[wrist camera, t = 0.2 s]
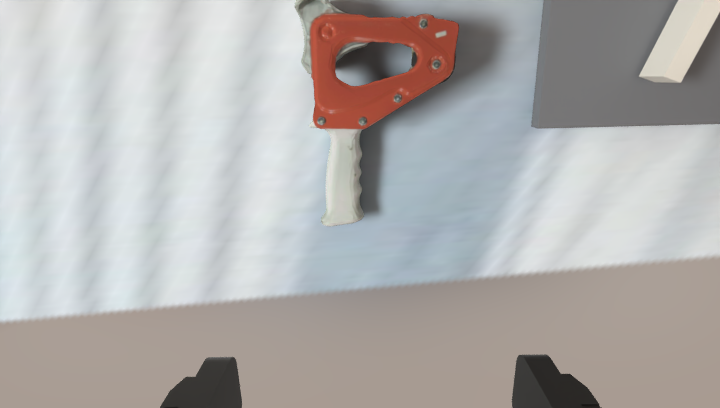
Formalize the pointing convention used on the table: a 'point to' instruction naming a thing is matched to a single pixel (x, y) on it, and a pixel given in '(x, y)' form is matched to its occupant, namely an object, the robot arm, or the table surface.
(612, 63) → the dial plate
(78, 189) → the table surface
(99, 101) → the table surface
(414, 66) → the tape dispenser
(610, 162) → the table surface
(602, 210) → the table surface
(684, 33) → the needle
